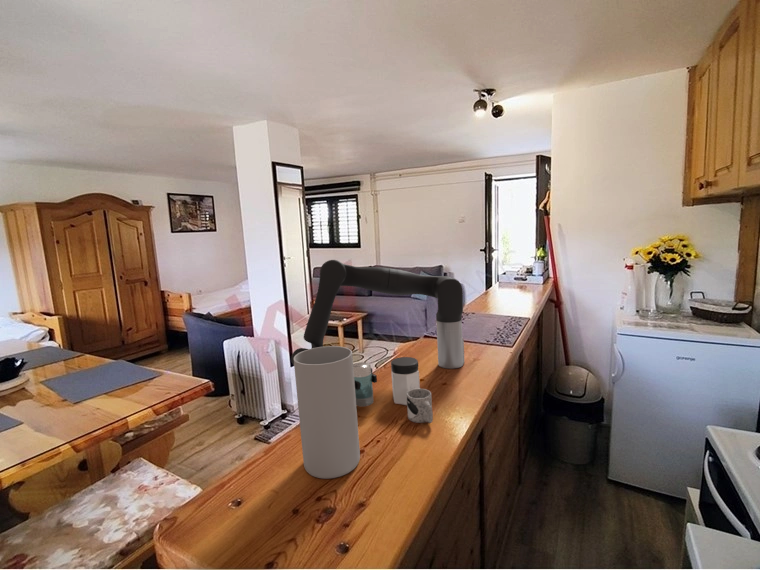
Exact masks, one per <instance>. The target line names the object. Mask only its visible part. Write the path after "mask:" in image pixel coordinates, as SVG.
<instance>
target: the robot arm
mask: <svg viewBox="0 0 760 570" xmlns="http://www.w3.org/2000/svg"><path fill="white" fill-rule="evenodd" d="M341 287H353V288H354V287H356V288H361V289H365V290H368V291H371V292H377V293H380V294H387V295H395V296H410V295H423V296H427V297H431V298H435V299H437V311H436V314H435V318H436V319H435V320H436V339H437V341H436V344H437V362H438V363H437V364H438V366H439V367H440V368H443V369H448V370H449V369H451V370H453V369H458V368H461V367H463V366H464V364H465V343H464V341H465V340H464V337H463V328H462V327H463V324H462V323H463V322H462V321H463V319H462V315H463V313H464V312H463V311H464V291H463V289H464V288H463V285H462V283H461V282H460V281H459V280H458V279H456V278H454V277H450V276H448V275H423V274H419V273H414V272H410V271H408V270H407V271H406V270H403V269H402V270H401V269H397V268H391V267H376V266H374V267H361V266H355V265H349V264H347V263H342V262H341V261H339V260H338V259H337V260H336V259H329V260H327V261H325V262H324V263H323V264H322V265H321V267H320V269H319V282H318V288H317V291H316V292H317V293H316V296H315V300H314V303H313V306H312V309H311V311H310V314H309V318H308V321H307V323H306V327H305V330H304V332H303V340H304V341H305V342H307V343H309V344H311V348H310V349H312V348H317V347H324V339H325V335H326V333H327V329H328V327H329V326H328V325H329V322H330V317H331V313H332V309H333V305H334V302H335V299H336V297H337V295H338V292H339V289H340V288H341ZM308 349H309V348H303V347H300V348H297V349H295V350H293V352H292V354H291V364H292V365H293V366H294V356H295V355H297V354H298V353H300V352H302V351H305V350H308ZM371 375H372V384H373V383H374V384H376V383H377V382H378V376H377V375H376V374H374V373H373V368H372V367H371ZM354 382H355V389H356V390H359V389H360V383H359V382H358V381H355V380H354Z"/></svg>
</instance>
